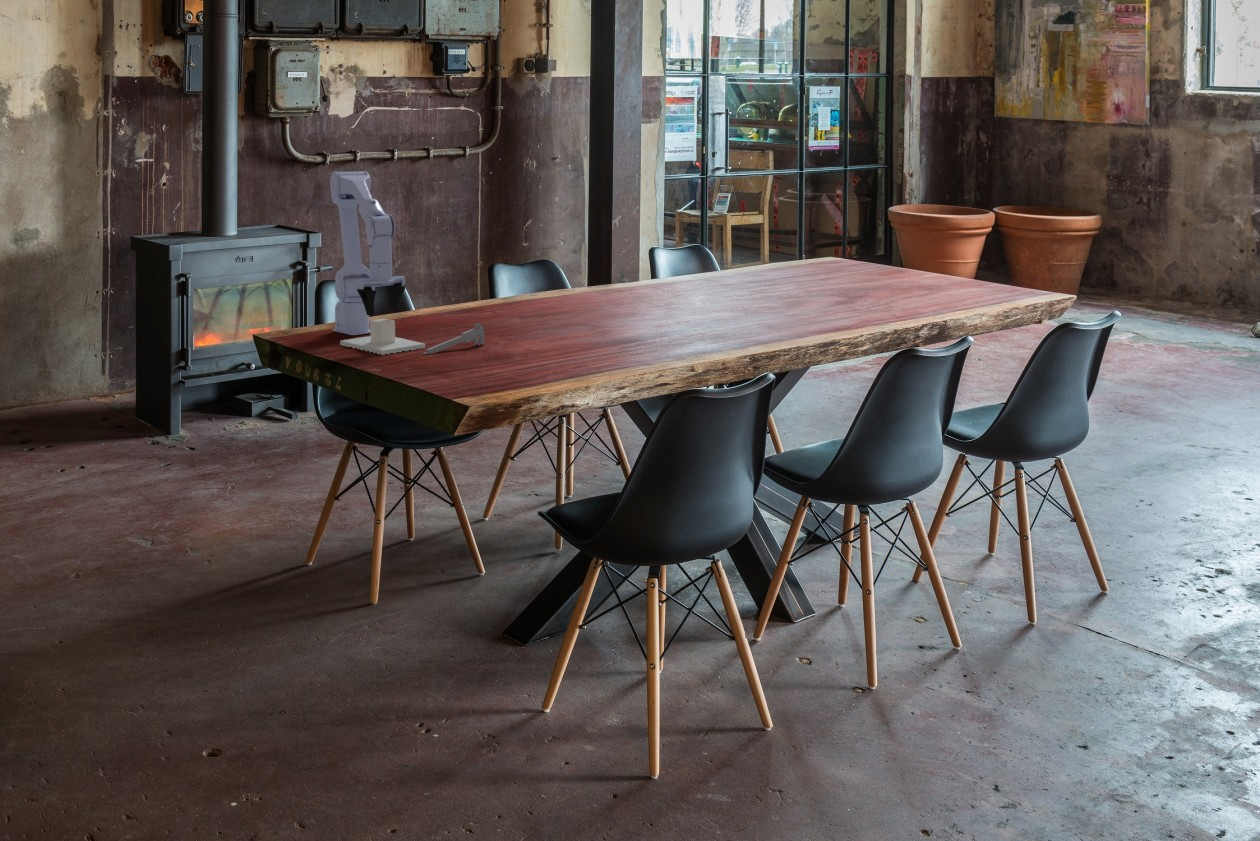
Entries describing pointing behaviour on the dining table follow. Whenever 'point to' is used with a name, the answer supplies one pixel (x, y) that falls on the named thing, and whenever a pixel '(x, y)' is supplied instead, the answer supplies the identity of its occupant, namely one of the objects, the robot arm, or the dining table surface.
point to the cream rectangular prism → (382, 331)
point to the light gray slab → (383, 349)
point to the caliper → (461, 339)
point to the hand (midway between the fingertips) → (381, 313)
